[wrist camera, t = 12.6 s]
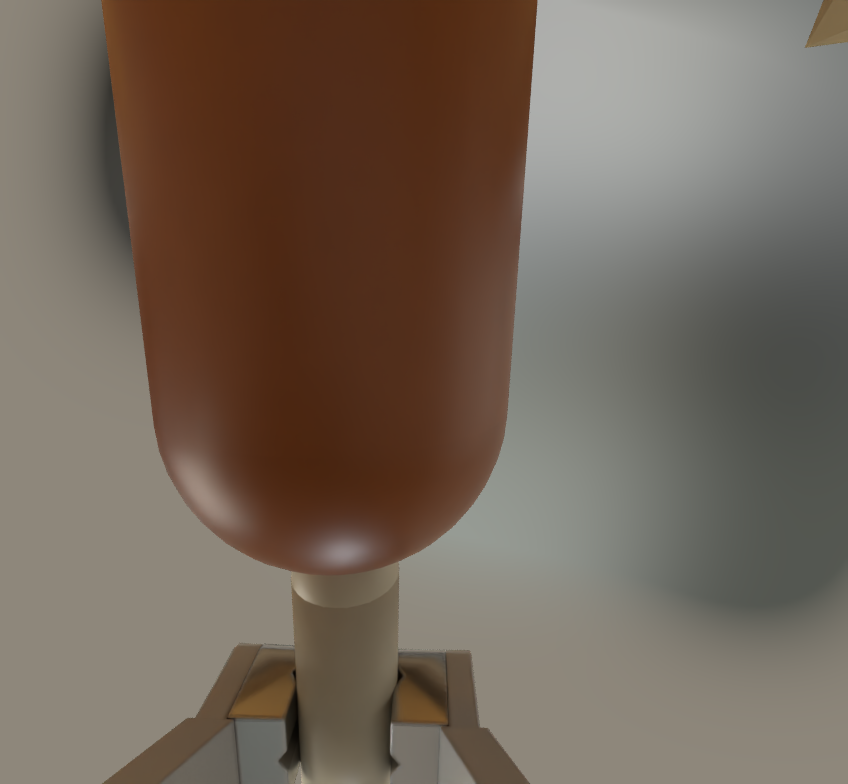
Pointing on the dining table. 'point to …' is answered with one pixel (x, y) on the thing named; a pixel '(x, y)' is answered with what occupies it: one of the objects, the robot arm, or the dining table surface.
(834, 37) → the low-poly potato
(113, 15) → the drumstick
